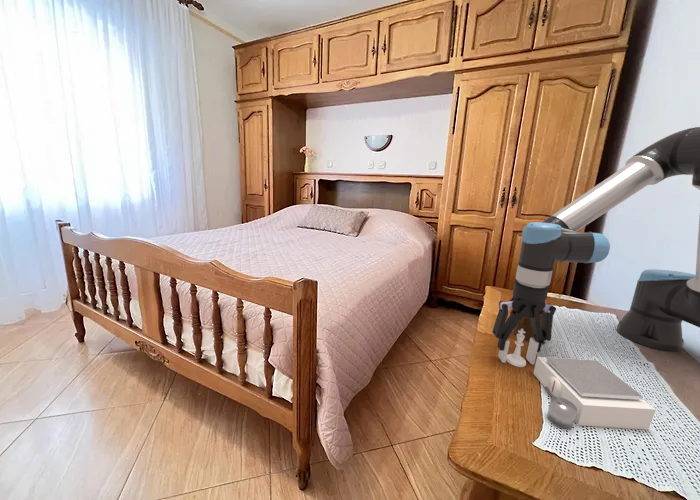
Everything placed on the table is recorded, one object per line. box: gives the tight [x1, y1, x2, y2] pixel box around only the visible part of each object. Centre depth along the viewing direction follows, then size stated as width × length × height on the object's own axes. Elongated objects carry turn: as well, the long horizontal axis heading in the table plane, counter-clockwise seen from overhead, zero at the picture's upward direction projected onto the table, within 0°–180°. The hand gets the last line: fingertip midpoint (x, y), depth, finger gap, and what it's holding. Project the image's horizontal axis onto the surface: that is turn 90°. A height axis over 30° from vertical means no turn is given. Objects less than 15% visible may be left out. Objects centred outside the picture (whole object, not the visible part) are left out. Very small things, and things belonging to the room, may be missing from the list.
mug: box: [513, 310, 543, 342], centre depth 90 cm, size 12×8×9 cm, turn 126°
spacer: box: [546, 397, 577, 430], centre depth 59 cm, size 4×4×4 cm
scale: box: [533, 356, 656, 431], centre depth 66 cm, size 14×16×5 cm
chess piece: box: [506, 329, 527, 368], centre depth 78 cm, size 5×5×10 cm
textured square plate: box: [546, 357, 644, 400], centre depth 65 cm, size 12×12×1 cm
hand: (516, 360), depth 79 cm, fingers open, 7 cm apart
